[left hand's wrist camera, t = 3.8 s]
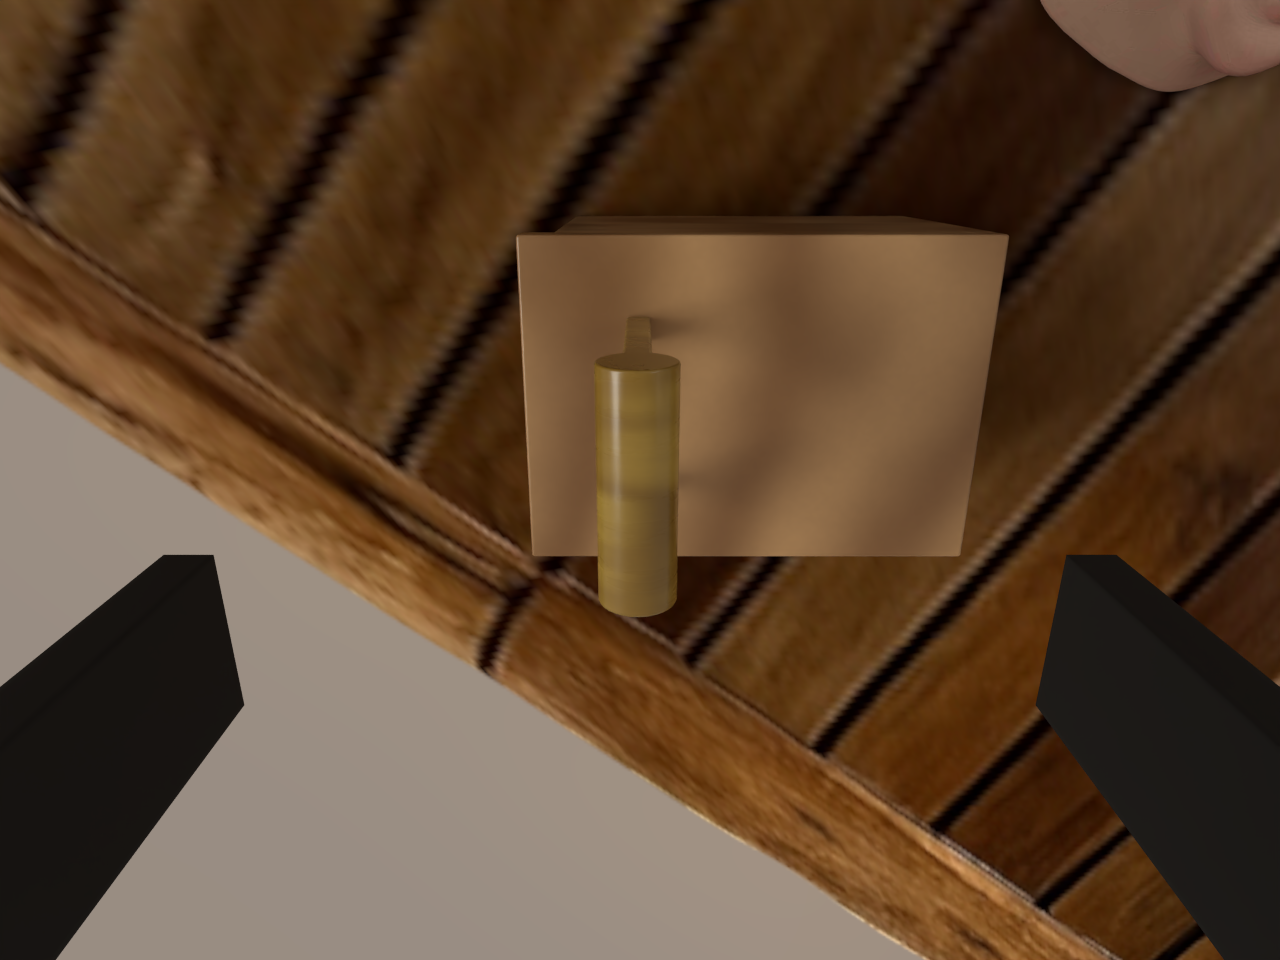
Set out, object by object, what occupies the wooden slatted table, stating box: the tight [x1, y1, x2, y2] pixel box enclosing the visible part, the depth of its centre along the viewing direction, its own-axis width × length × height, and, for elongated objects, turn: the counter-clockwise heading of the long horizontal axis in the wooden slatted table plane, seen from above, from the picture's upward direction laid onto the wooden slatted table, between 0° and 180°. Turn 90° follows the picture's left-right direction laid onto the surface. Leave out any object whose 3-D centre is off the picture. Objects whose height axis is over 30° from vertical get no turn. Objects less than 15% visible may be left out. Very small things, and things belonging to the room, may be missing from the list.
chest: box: [555, 216, 995, 233], centre depth 30 cm, size 13×10×9 cm
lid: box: [516, 233, 1009, 617], centre depth 22 cm, size 14×10×8 cm
